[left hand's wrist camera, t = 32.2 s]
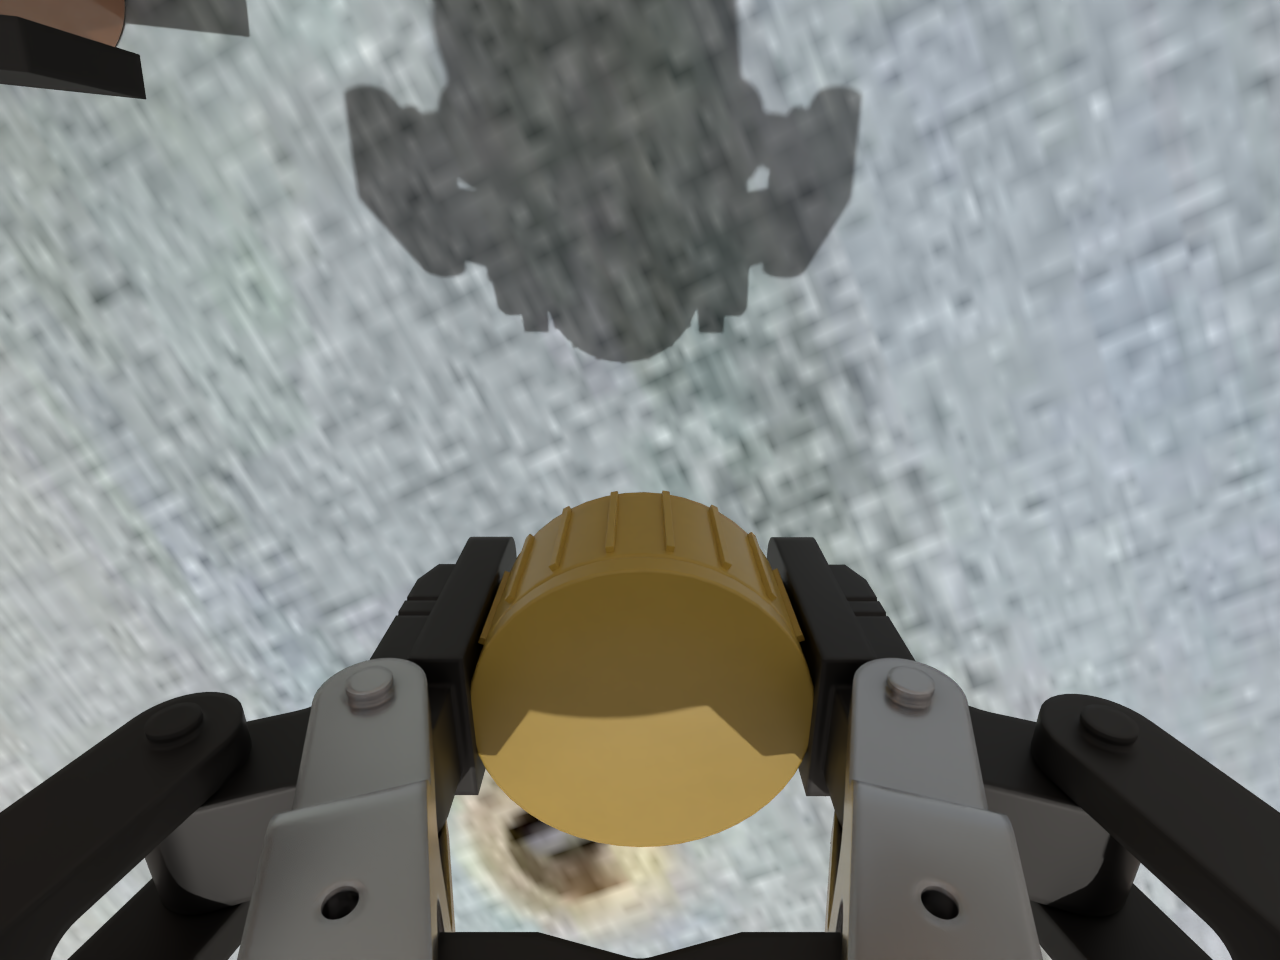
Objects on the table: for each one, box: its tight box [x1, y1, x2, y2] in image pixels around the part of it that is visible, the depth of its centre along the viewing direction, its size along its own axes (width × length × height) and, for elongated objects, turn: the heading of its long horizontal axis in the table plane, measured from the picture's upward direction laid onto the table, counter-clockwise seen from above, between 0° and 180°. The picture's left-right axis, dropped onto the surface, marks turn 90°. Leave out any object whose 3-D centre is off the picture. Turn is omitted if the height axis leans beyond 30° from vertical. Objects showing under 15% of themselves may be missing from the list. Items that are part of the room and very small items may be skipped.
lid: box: [470, 491, 814, 847], centre depth 10 cm, size 5×5×2 cm
